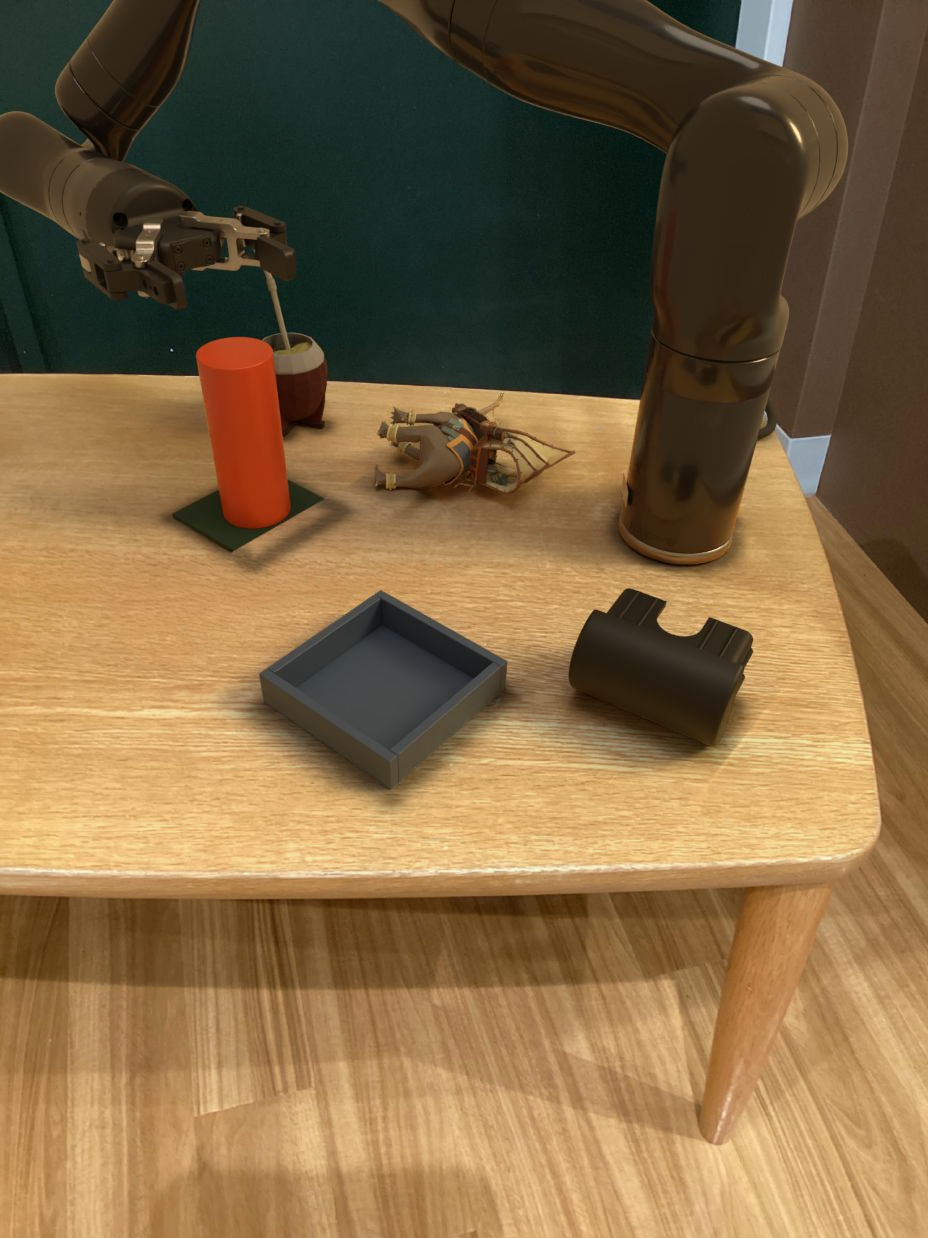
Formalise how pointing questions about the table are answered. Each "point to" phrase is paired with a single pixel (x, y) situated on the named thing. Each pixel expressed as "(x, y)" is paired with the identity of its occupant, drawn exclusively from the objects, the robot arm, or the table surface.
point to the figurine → (464, 450)
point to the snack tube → (245, 430)
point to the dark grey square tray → (384, 686)
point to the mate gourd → (297, 373)
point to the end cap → (661, 666)
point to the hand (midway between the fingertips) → (237, 279)
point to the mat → (214, 526)
